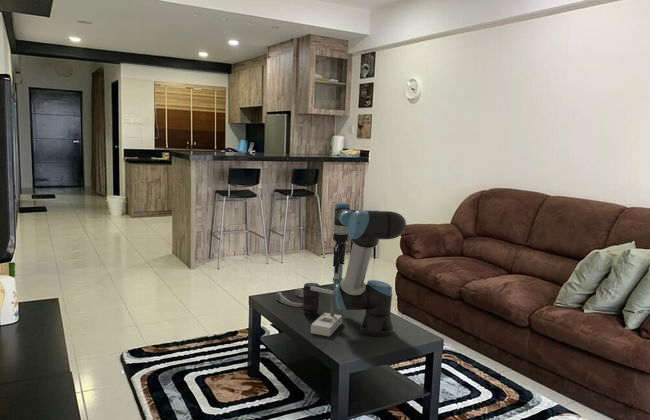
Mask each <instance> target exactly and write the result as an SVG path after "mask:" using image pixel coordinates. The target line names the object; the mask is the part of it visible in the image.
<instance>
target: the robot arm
mask: <svg viewBox="0 0 650 420" xmlns="http://www.w3.org/2000/svg"><path fill="white" fill-rule="evenodd" d="M334 206H335V207H334V219H333V226H332V228H333V234H332V235H333V236H332V240H333V241H334V242H335V245H334V247H333V260H332V261H333V262H332V264H333V265H332V267H333V278H334V279H339V275H340V267H339V265H340V264H342V270H344V269H343V266H344V265H346V264H345V257H346V246H347V243H346V242H348V241H349V238H350V240H351V242H352V245H351V250H350V254H349V260H348V262H347V269H346V272H345V276H344V277H342V280H341V283H340V284H336V285H335V286H334V291H335V304H336V308H337V309H338V310H340V311H365V312H364V315H363V318H362V320H361V323H360V331H361V333H363V334H366V335H367V336H370V337H379V338H382V337H389V336H392V334H393V332H394V327H393V322H392V321H393V320H392V317H391V312H392V311H391V310H392V299H393V298H392V297H393V287H392V286H391V285H390V284H389V283H387V282H384V281H381V280H377V279H370V280H369V279H368V281H366V283H365V279H366V275H367V272H368V267H369V264H370V259H371V256H372V253H373V248H375V247H376V246H377V245H378V244H379V240H394V239H396V238H397V239H398V238H399V237H401V236H402V235H403V234H404V233H405V230H406V229H407V222H406V219H405V217H404V216H403V215H402V214H400V213H398V212H396V211H389V210H386V211H385V210H384V211H383V210H366V209H364V210H363V209H362V210H361V209H358V210H357V209H351V204H350V203H348V202H336V203H335V205H334ZM334 266H335V267H334Z"/></svg>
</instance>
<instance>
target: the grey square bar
mask: <svg viewBox="0 0 650 420" xmlns="http://www.w3.org/2000/svg"><path fill="white" fill-rule="evenodd" d="M310 290H313V291H318V292H320V293H325V294H328V295H330V296H331V295H335V289H334V290H333V289H327V288H322V287H320V288H318V287H313V286H311V288H310Z"/></svg>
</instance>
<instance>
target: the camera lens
mask: <svg viewBox="0 0 650 420" xmlns="http://www.w3.org/2000/svg"><path fill="white" fill-rule="evenodd" d="M311 286H313V287H318V288H321V287H320V284H319V283H316V282H306V283H304V286H303V291H304V292H303V295H304V298H303V299H302V304H303V307H302V310H303V314H304V315H305V316H311V317H312V316H316V315H317V314H318V312H319V301H320V293H321V292H318V291H313V290H310V288H311Z"/></svg>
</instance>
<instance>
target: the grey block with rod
mask: <svg viewBox="0 0 650 420" xmlns="http://www.w3.org/2000/svg"><path fill="white" fill-rule="evenodd" d="M335 304H336V299H335V295H331V294H330V309H329V311H330V312H323V313H322V314H321V315H320V316H319V317H317V318H316V320H314V321H313V322H312V323H311V325H310V334H314V335H320V336H326V337H331V336H332V335H333V333H335V331H336V330H338V328H339V327H340V326H341V325H342V323H343V315H341V314H336V313H335Z"/></svg>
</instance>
